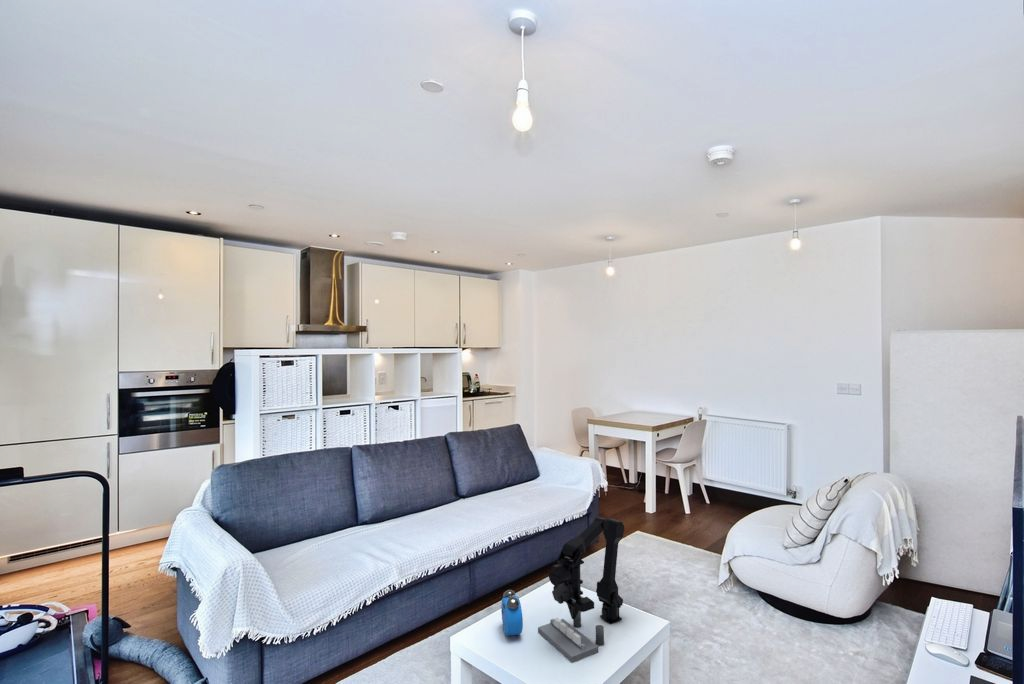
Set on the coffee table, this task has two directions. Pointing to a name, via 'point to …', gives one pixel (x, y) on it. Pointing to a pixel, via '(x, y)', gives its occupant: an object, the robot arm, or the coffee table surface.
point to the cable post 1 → (577, 620)
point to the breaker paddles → (567, 631)
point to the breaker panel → (568, 642)
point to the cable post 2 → (599, 635)
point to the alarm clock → (511, 614)
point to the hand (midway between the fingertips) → (573, 618)
